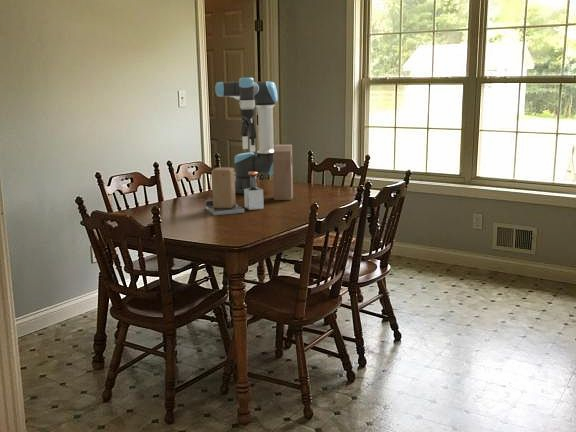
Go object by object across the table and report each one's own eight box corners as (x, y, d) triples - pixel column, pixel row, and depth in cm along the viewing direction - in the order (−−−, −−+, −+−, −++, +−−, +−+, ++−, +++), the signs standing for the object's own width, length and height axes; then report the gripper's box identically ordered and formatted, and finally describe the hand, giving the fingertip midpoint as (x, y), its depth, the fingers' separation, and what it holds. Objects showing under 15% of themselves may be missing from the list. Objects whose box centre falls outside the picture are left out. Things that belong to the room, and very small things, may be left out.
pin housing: (244, 207, 338) (244, 188, 336) (259, 205, 341) (258, 187, 338) (249, 210, 330) (248, 191, 328) (263, 208, 333) (263, 189, 331)
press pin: (247, 192, 335) (247, 171, 333) (256, 191, 337) (256, 171, 335) (250, 194, 331) (249, 173, 328) (259, 193, 332) (259, 172, 330)
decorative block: (293, 196, 364) (291, 144, 358) (291, 200, 354) (290, 146, 348) (276, 196, 365) (274, 144, 359) (273, 200, 355) (272, 146, 349)
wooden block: (231, 208, 324) (230, 170, 320) (212, 208, 326) (210, 170, 322) (236, 205, 334) (234, 167, 330) (217, 204, 335) (215, 167, 331)
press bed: (205, 208, 336) (205, 200, 335) (235, 206, 341) (234, 198, 340) (213, 215, 319) (213, 206, 318) (244, 212, 325) (244, 204, 324)
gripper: (234, 107, 334) (235, 148, 339) (246, 109, 311) (248, 153, 316) (247, 107, 337) (249, 147, 341) (261, 109, 314) (263, 152, 318)
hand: (249, 150), depth 328 cm, fingers open, 13 cm apart
